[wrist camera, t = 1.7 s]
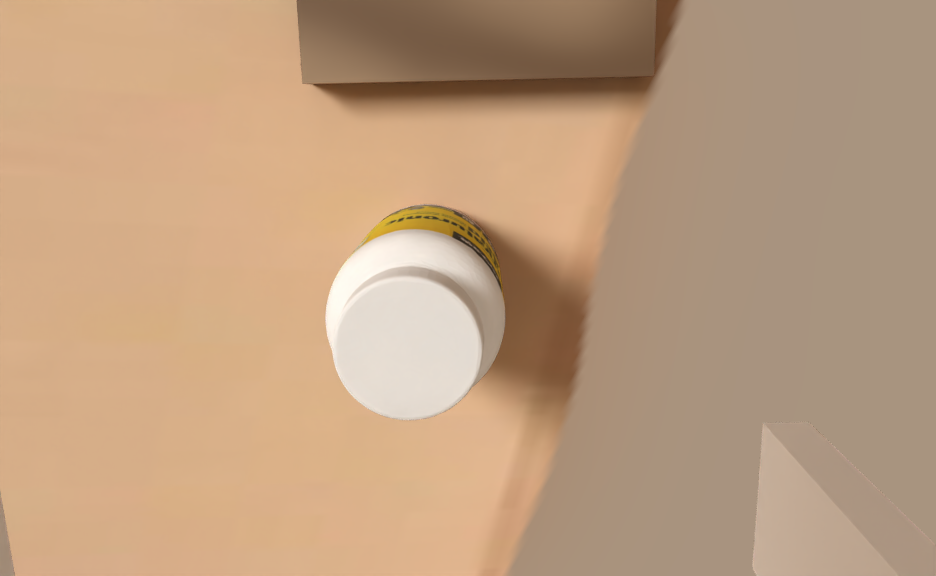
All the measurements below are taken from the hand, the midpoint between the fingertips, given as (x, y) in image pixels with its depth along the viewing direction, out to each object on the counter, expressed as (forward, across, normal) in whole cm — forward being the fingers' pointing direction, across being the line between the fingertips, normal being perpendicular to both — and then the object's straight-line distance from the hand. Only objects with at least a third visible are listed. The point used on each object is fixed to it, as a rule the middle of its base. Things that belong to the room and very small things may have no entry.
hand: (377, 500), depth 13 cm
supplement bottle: (+17, 0, 0) cm, 17 cm away
